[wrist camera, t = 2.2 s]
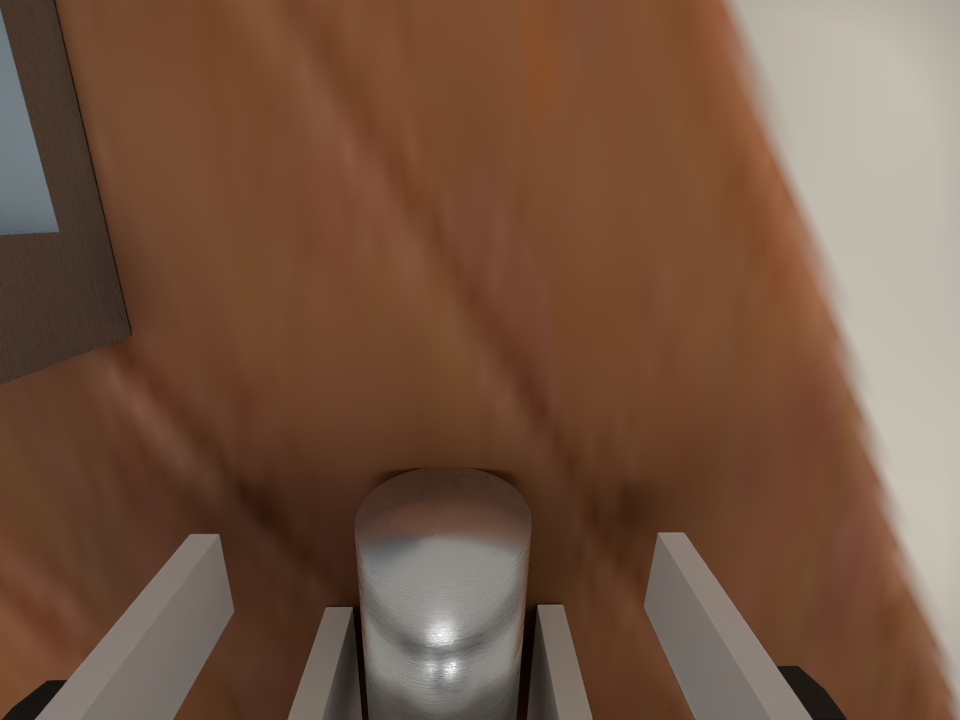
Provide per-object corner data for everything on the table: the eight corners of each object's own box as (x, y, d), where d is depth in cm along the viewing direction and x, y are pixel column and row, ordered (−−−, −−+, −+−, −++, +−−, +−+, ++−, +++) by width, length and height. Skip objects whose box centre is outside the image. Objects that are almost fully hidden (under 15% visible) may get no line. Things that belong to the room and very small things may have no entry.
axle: (505, 675, 18) (522, 836, 14) (384, 678, 18) (358, 843, 13) (519, 466, 15) (547, 582, 10) (372, 466, 15) (333, 584, 10)
